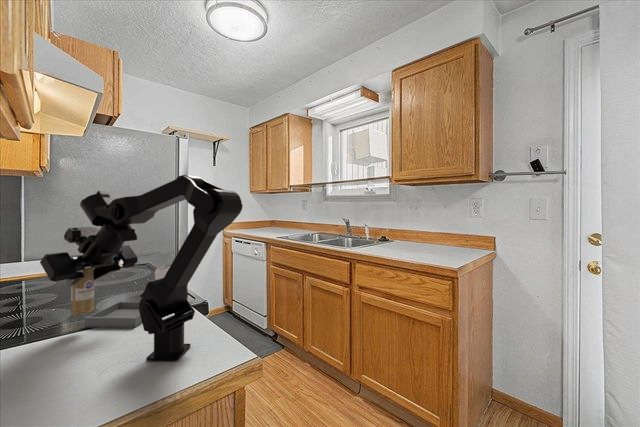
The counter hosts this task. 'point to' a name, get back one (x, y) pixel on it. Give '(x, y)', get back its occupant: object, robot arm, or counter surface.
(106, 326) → the tray
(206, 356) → the counter surface
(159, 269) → the can
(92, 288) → the sprinkles bottle
